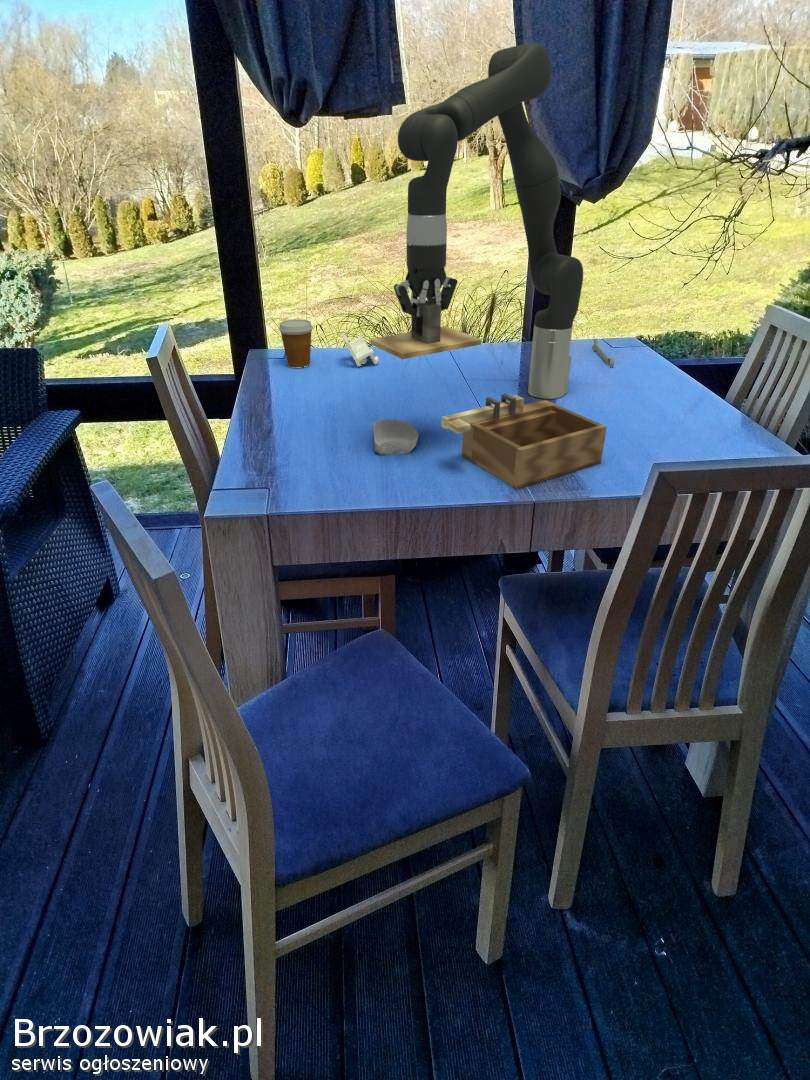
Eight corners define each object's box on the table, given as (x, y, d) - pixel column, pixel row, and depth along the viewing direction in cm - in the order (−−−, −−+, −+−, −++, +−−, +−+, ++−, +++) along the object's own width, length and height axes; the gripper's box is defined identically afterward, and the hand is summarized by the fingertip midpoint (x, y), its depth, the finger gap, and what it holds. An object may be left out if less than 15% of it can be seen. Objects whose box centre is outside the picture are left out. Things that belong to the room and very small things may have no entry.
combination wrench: (615, 357, 192) (596, 337, 208) (610, 357, 192) (592, 337, 208) (613, 370, 194) (594, 349, 211) (608, 370, 194) (590, 349, 210)
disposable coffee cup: (286, 372, 191) (282, 328, 185) (279, 362, 199) (275, 320, 192) (319, 368, 194) (316, 325, 188) (310, 359, 202) (307, 317, 195)
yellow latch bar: (514, 407, 144) (515, 394, 142) (533, 416, 139) (534, 403, 138) (440, 425, 135) (440, 412, 134) (457, 435, 131) (458, 422, 129)
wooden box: (541, 434, 152) (547, 383, 146) (600, 463, 139) (609, 409, 133) (461, 455, 142) (464, 402, 136) (517, 489, 129) (522, 432, 123)
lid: (446, 330, 146) (447, 292, 142) (481, 344, 137) (483, 303, 133) (370, 343, 138) (369, 303, 133) (402, 359, 129) (402, 315, 124)
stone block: (412, 440, 155) (369, 433, 153) (417, 420, 152) (373, 414, 150) (418, 464, 145) (372, 457, 143) (423, 444, 142) (376, 437, 140)
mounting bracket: (355, 363, 205) (339, 330, 199) (374, 353, 204) (358, 320, 198) (362, 375, 195) (345, 341, 189) (381, 365, 194) (365, 331, 188)
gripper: (446, 235, 133) (443, 325, 142) (383, 241, 127) (385, 334, 136) (468, 239, 128) (465, 333, 137) (405, 246, 121) (405, 343, 130)
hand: (425, 333), depth 136 cm, fingers closed on lid, 3 cm apart
